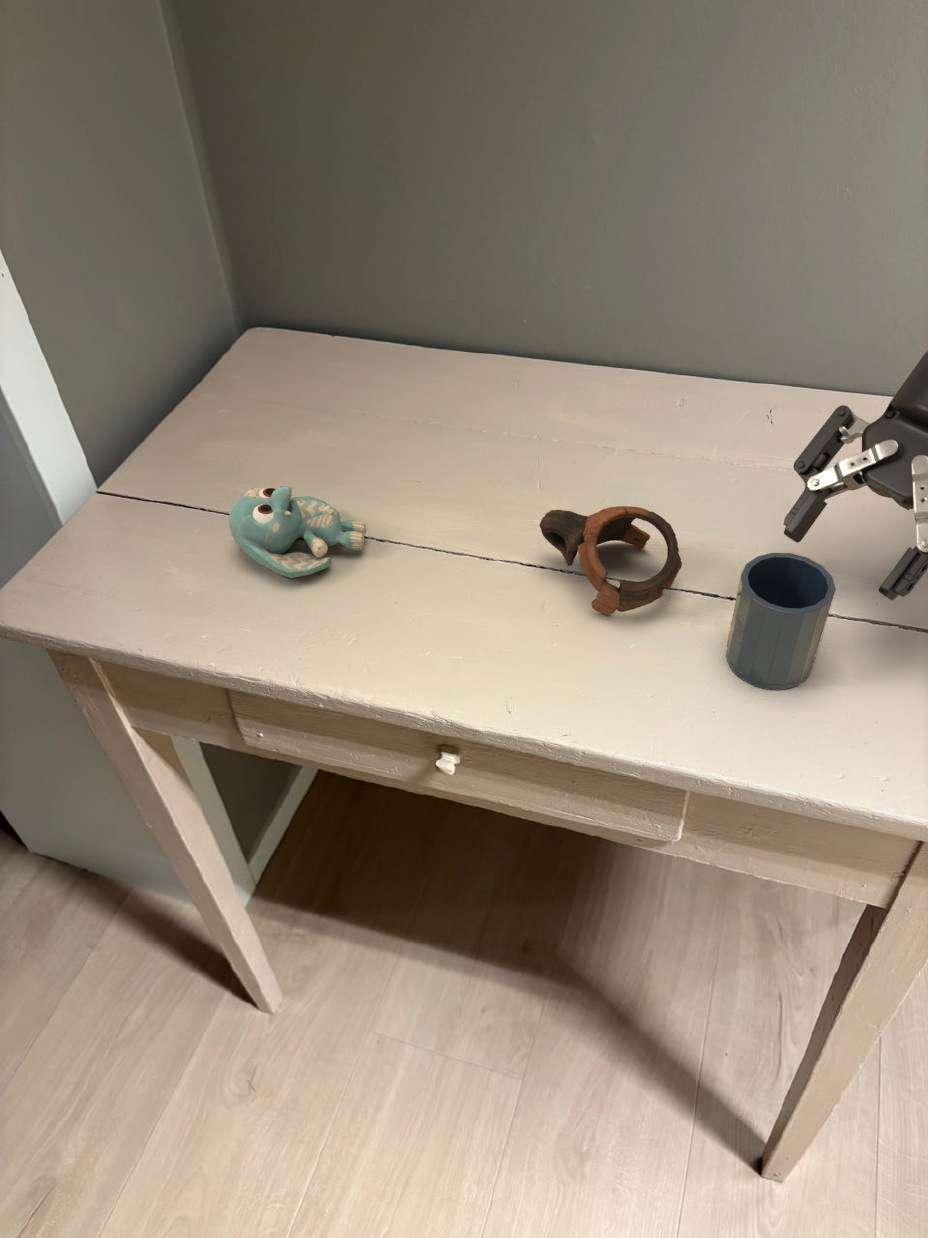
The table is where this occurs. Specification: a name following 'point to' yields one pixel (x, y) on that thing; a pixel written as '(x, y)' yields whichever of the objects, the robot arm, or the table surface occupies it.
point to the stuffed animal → (290, 530)
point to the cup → (779, 620)
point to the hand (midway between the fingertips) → (836, 566)
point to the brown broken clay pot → (601, 527)
